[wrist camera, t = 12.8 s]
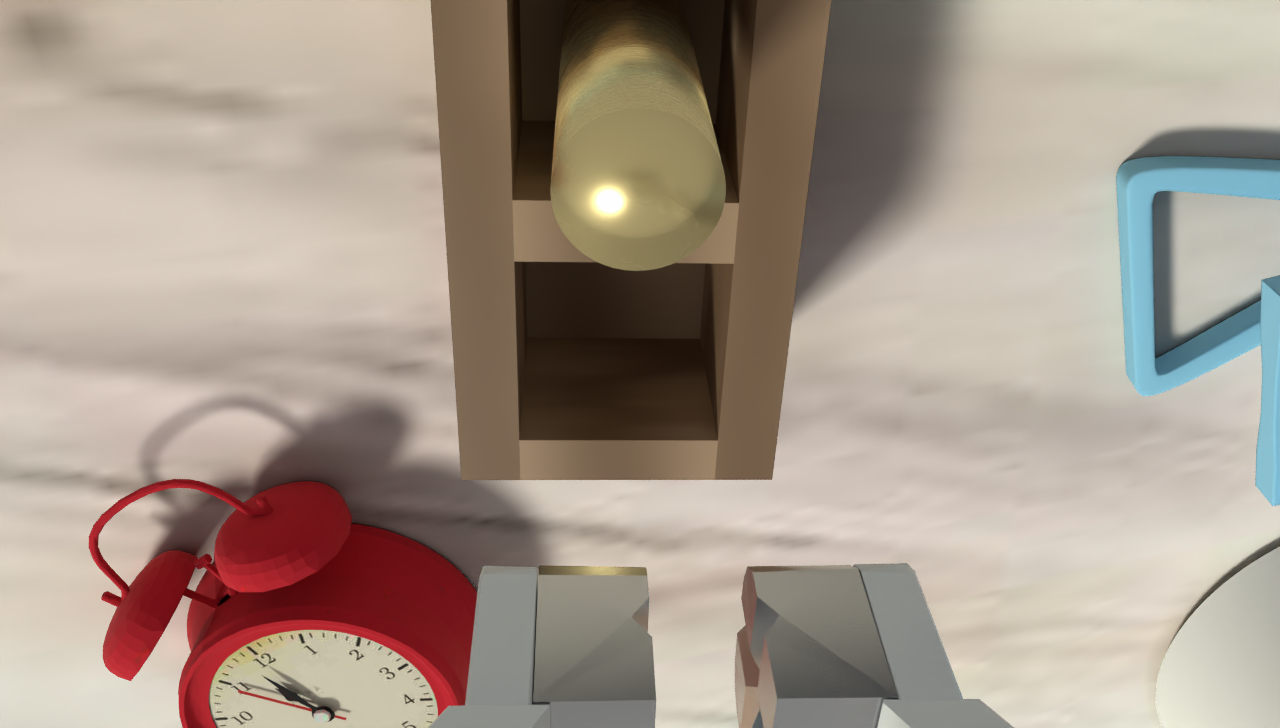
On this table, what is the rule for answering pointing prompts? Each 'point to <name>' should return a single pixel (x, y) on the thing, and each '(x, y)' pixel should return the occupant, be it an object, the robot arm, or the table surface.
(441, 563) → the alarm clock
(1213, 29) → the table surface
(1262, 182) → the chair
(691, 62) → the gold rounded rod
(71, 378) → the table surface
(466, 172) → the box
